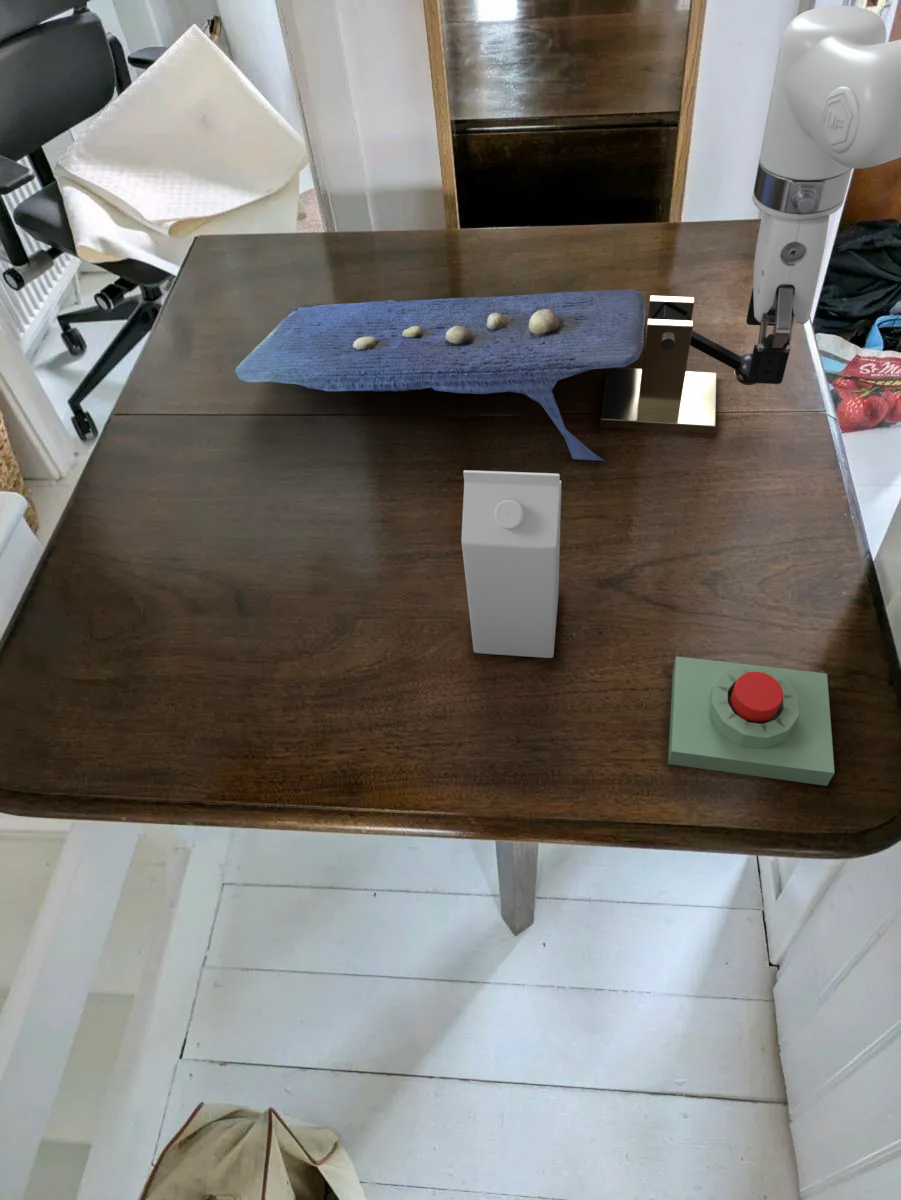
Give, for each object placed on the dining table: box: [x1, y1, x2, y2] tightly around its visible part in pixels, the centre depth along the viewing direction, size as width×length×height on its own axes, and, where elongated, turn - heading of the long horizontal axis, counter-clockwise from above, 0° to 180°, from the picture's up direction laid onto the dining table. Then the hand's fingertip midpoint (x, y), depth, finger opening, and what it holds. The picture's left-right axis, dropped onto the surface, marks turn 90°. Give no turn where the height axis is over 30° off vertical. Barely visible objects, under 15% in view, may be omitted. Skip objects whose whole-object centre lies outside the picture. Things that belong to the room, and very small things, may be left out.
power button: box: [731, 672, 783, 722], centre depth 66 cm, size 4×4×2 cm
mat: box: [234, 288, 646, 462], centre depth 100 cm, size 45×27×12 cm, turn 82°
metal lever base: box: [599, 295, 718, 435], centre depth 90 cm, size 12×9×12 cm
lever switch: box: [654, 305, 757, 386], centre depth 88 cm, size 13×3×3 cm, turn 79°
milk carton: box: [460, 469, 562, 659], centre depth 70 cm, size 7×7×19 cm
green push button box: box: [667, 655, 835, 786], centre depth 68 cm, size 12×9×4 cm
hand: (762, 351), depth 86 cm, fingers open, 9 cm apart
